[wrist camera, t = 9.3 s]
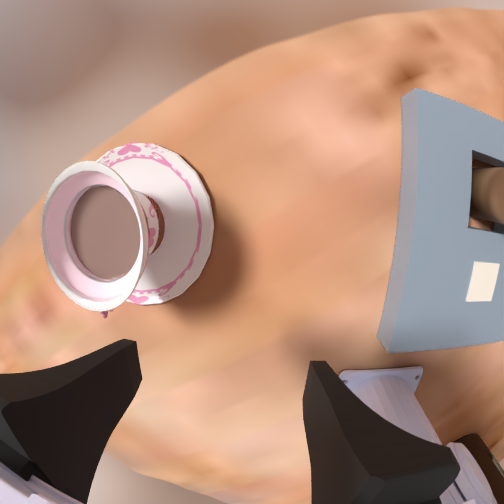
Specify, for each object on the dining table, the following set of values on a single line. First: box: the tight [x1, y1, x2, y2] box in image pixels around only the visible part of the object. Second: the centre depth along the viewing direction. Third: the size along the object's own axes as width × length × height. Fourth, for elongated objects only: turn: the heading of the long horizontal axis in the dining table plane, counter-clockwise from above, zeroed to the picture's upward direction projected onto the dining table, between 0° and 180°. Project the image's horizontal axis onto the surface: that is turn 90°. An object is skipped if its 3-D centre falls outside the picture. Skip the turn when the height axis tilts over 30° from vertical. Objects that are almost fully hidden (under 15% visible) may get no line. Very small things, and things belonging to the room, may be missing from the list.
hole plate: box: [377, 88, 504, 353], centre depth 16 cm, size 18×15×3 cm
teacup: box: [41, 143, 215, 318], centre depth 17 cm, size 12×12×6 cm
